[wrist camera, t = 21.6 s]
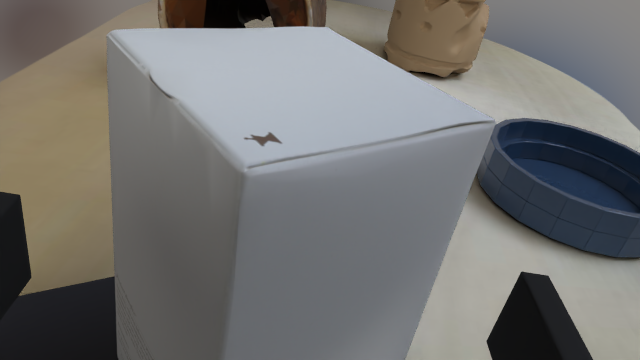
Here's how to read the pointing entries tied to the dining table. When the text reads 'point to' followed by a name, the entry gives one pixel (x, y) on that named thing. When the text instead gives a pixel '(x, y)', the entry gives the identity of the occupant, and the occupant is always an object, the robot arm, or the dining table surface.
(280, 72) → the rectangular carton
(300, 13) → the clay pot
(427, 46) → the container
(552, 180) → the bowl
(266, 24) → the dining table surface
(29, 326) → the mat
